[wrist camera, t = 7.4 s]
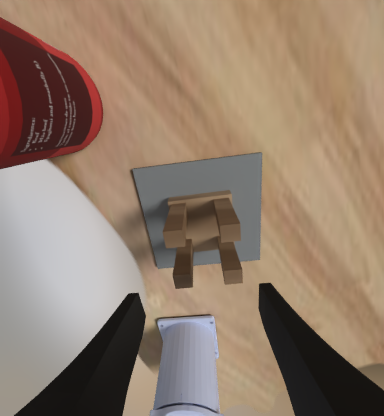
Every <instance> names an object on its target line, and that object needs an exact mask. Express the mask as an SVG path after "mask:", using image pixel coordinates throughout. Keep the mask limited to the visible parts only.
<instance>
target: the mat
mask: <svg viewBox="0 0 384 416" xmlns="http://www.w3.org/2000/svg"><path fill="white" fill-rule="evenodd" d="M132 170H133V174H134V178H135V182H136V186H137V189H138V193H139V197H140V201H141V205H142V209H143V213H144V217H145V221H146V224H147V228H148V232H149V236H150V240H151V244H152V248H153V252H154V255H155V259H156V263H157V267H158V269H161V268H172V267H174V264H175V258H176V251H177V247H176V248H166V245H165V241H164V237H163V229H164V226H165V222H166V219H167V216H168V213H169V207H168V199H169V197H177V196H185V195H193V194H201V193H209V192H217V191H225V190H230V192H231V194H232V206H233V208H234V210H235V213H236V215H237V217H238V219H239V222H240V227H241V241H234V242H235V248H236V252H237V255H238V258H239V261H240V262H241V261H252V260H260V231H261V182H262V153H261V152H259V153H251V154H244V155H236V156H228V157H220V158H212V159H204V160H197V161H189V162H181V163H173V164H165V165H157V166H150V167H142V168H134V169H132ZM218 263H221V260H220V254H219V250H210V251H200V252H194V253H193V266H195V265H206V264H218Z"/></svg>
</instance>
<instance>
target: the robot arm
mask: <svg viewBox="0 0 384 416" xmlns="http://www.w3.org/2000/svg"><path fill="white" fill-rule="evenodd" d="M259 312H260V315H261V319H262V323H263V326H264V329H265V332H266V334H267V337H268V340H269V342H270V345H271V347H272V350H273V353H274V355H275V358H276V360H277V363H278V365H279V368H280V371H281V373H282V376H283V379H284V381H285V384H286V387H287V391H288V394H289V397H290V400H291V404H292V407H293V410H294V413H295V416H384V390H383V389H381V388H380V387H379V386H378V385H376V384H375V383H374V382H372V381H371V380H370V379H369V378H367V377H366V376H365V375H364V374H362V373H361V372H360V371H359V370H357V369H356V368H355V367H354V366H352V365H351V364H350V363H349V362H348V361H347V360H345V359H344V358H343V357H342V356H341V355H340V354H338V353H337V352H336V351H335V350H334V349H333V348H332V347H331V346H329V345H328V344H327V343H326V342H325V341H324V340H323V339H322V338H321V337H320V336H319V335H318V334H317V333H316V332H315V331H314V330H313V329H312V328H311V327H310V326H309V325H308V324H307V323H306V322H305V321H304V320H303V319H302V318H301V317H300V316H299V315H298V314H297V313H296V312H295V311H294V310H293V309H292V307H291V306H290V305H289V304H288V303H287V302H286V301H285V300H284V298H283V297H282V296H281V295H280V294H279V293H278V291H277V290H276V289H275V288H274V286H273V285H272V284H271V283H262V284H259ZM145 318H146V315H145V312H144V309H143V306H142V303H141V299H140V297H139V293H130V294H128V295H127V296H126V298H125V299H124V300H123V301H122V303H121V304H120V305H119V307H118V308H117V309H116V311H115V312H114V313H113V314H112V316H111V317H110V318H109V320H108V321H107V322H106V323H105V325H104V326H103V327H102V328H101V330H100V331H99V332H98V333H97V334H96V336H95V337H94V338H93V339H92V340H91V341H90V343H89V344H88V345H87V346H86V347H85V348H84V349H83V350H82V352H81V353H80V354H79V355H78V356H77V357H76V358H75V359H74V360H73V361H72V362H71V363H70V365H68V367H66V368H65V369H64V370H63V371H62V372H61V373H60V374H59V375H58V376H57V377H56V378H55V379H54V380H53V381H52V382H51V383H50V384H49V385H48V386H47V387H46V388H45V389H44V390H43V391H41V392H40V394H39V395H37V396H36V397H35V398H34V399H33V400H31V401H30V402H29V403H28V404H27V405H26V406H25V407H24V408H22V409H21V410H20V411H19V412H18V413H16V414H15V415H14V416H122V414H123V410H124V405H125V399H126V395H127V390H128V386H129V382H130V378H131V375H132V371H133V368H134V364H135V361H136V357H137V354H138V350H139V347H140V343H141V339H142V336H143V330H144V325H145ZM157 324H158V327H159V331H160V334H161V337H162V340H163V348H162V355H161V362H160V368H159V375H158V382H157V388H156V394H155V401H154V408H153V410H151V411H150V416H224V415H223V414H220V407H219V395H218V383H217V370H216V359H217V358H219V352H218V344H217V336H216V327H215V319H214V316H211V315H210V316H195V317H180V318H165V319H159V320H158V322H157Z"/></svg>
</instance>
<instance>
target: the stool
mask: <svg viewBox="0 0 384 416" xmlns="http://www.w3.org/2000/svg"><path fill="white" fill-rule="evenodd" d="M168 207H169V213H168V216H167V219H166V222H165V226H164V229H163V237H164V241H165V245H166V248H176V247H177V251H176V258H175V264H174V270H173V279H174V284H175V288H176V289H179V288H191V287H193V253H194V252H200V251H210V250H219V254H220V260H221V265H222V271H223V276H224V282H225V285H226V284H237V283H243V278H242V267H241V264H240V261H239V258H238V255H237V252H236V248H235V242H234V241H241V227H240V222H239V219H238V217H237V215H236V213H235V210H234V208H233V206H232V194H231V192H230V190H225V191H217V192H209V193H201V194H193V195H185V196H177V197H169V199H168Z"/></svg>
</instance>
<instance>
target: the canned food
mask: <svg viewBox="0 0 384 416" xmlns="http://www.w3.org/2000/svg"><path fill="white" fill-rule="evenodd" d="M102 121H103V107H102V101H101V98H100V94H99V92H98V90H97V88H96V86H95V84H94V82H93V81H92V79H91V78H90V76H89V75H88V74H87V72H86V71H85V70H84V69H83V68H82V67H81V66H80V65H79V63H78V62H76V61H75V60H74V59H72V58H71V57H70V56H69V55H67V54H65V53H64V52H62V51H60V50H58V49H56V48H55V47H53V46H51V45H49V44H47V43H46V42H44V41H42V40H40V39H38V38H37V37H35V36H33V35H31V34H30V33H28V32H26V31H24V30H22V29H21V28H19V27H17V26H15V25H13V24H12V23H10V22H8V21H6V20H4V19H3V18H1V17H0V169H3V168H8V167H12V166H16V165H21V164H25V163H30V162H34V161H38V160H43V159H47V158H52V157H56V156H60V155H65V154H69V153H74V152H77V151H79V150H82V149H83V148H85V147H86V146H88V145H89V144H90V143H91V142H92V141H93V140H94V138H95V137H96V136H97V134H98V133H99V131H100V128H101V125H102Z"/></svg>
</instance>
